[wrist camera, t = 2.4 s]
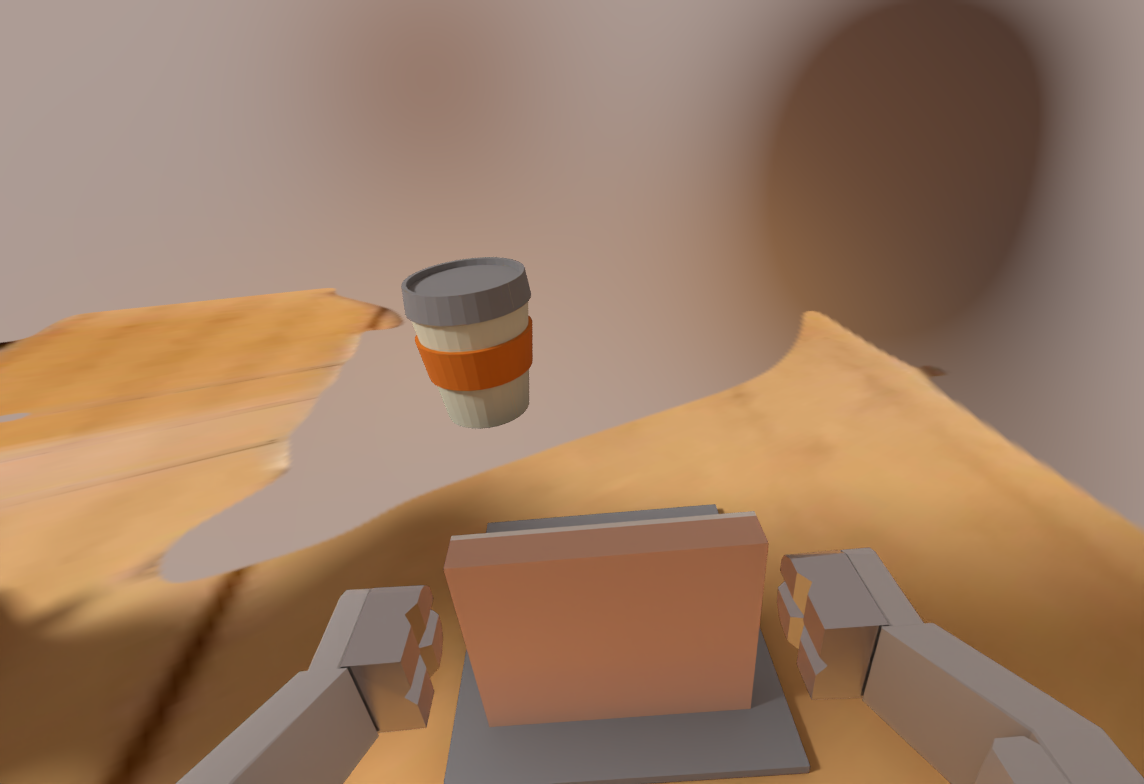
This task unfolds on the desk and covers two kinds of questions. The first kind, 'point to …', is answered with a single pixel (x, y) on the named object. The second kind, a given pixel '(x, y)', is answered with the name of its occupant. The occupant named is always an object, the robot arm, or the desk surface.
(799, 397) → the desk surface
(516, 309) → the reusable coffee cup
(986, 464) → the desk surface
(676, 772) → the mat
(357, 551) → the desk surface
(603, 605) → the tile
